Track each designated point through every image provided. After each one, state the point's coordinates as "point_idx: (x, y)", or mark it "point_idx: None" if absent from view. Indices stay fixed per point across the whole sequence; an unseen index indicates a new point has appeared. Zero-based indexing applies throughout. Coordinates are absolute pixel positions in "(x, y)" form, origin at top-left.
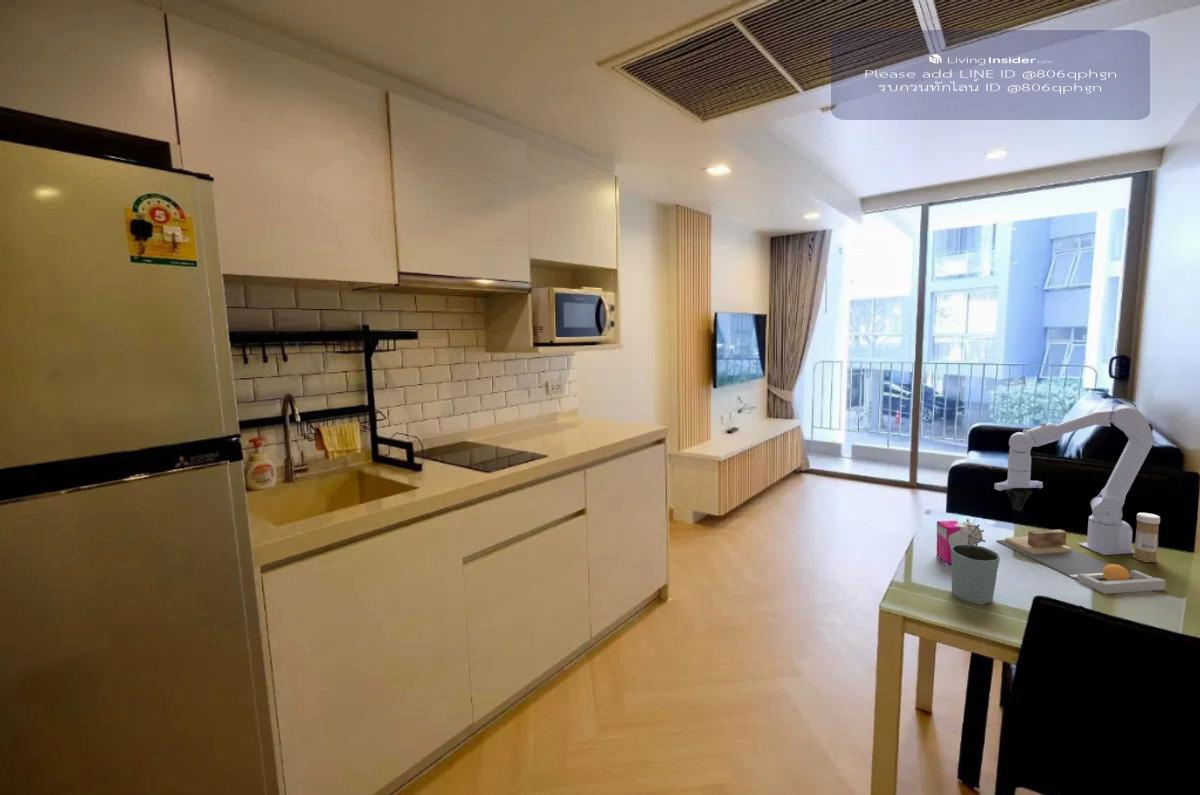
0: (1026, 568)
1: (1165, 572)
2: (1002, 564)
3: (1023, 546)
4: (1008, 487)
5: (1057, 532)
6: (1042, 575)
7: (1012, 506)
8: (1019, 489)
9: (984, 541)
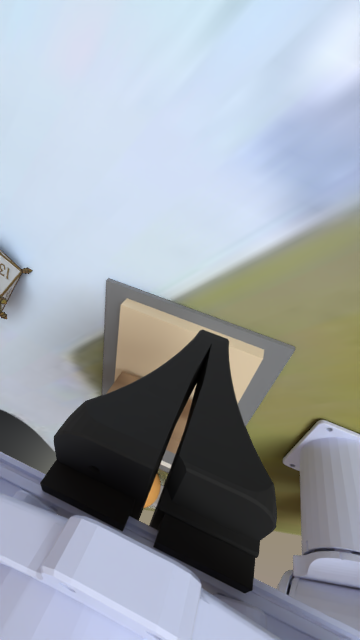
0: (58, 384)
1: (282, 516)
2: (26, 355)
3: (116, 359)
4: (8, 494)
5: (172, 452)
6: (64, 406)
7: (193, 339)
8: (154, 519)
9: (3, 317)
